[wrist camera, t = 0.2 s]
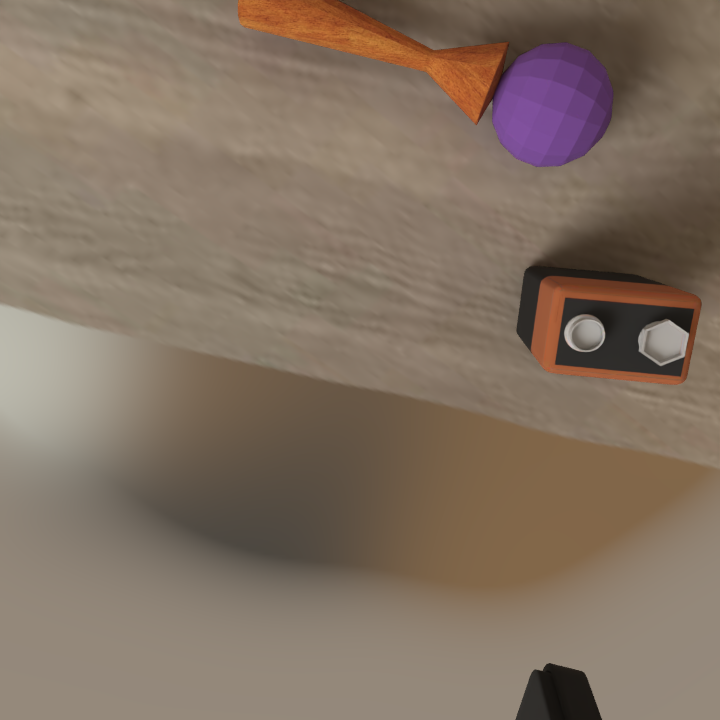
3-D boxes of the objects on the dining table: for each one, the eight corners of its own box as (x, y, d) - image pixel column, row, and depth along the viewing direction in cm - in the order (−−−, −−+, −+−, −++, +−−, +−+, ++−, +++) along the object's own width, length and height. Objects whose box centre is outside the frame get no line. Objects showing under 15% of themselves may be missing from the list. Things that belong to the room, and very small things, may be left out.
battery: (628, 346, 40) (696, 393, 30) (514, 336, 40) (545, 379, 31) (641, 274, 39) (715, 298, 29) (523, 264, 39) (559, 285, 30)
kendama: (259, -97, 32) (649, 47, 31) (283, -29, 38) (612, 93, 37) (214, 20, 33) (598, 167, 31) (245, 69, 39) (569, 194, 37)
